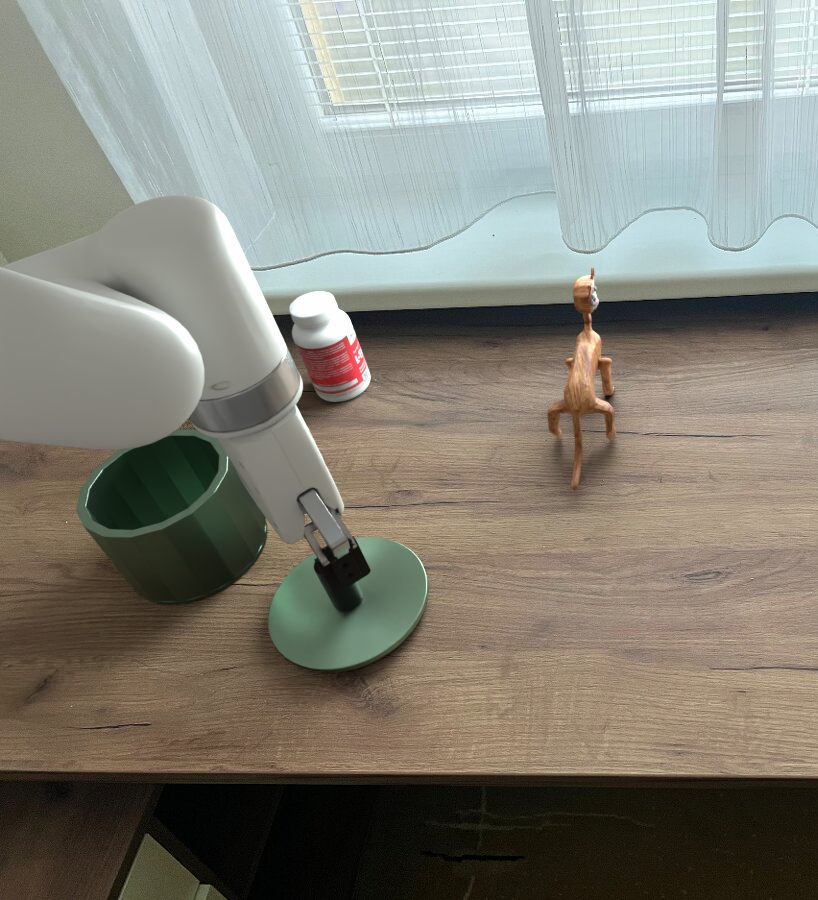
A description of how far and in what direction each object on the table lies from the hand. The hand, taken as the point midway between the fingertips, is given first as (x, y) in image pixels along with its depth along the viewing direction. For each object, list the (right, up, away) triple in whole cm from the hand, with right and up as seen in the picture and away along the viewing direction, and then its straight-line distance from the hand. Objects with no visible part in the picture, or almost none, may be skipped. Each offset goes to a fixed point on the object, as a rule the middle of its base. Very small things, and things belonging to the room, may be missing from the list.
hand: (324, 544), depth 70 cm
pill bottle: (-6, +15, +27) cm, 32 cm away
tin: (-15, -2, +12) cm, 20 cm away
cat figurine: (+21, +9, +18) cm, 29 cm away
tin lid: (+1, -6, +5) cm, 8 cm away
